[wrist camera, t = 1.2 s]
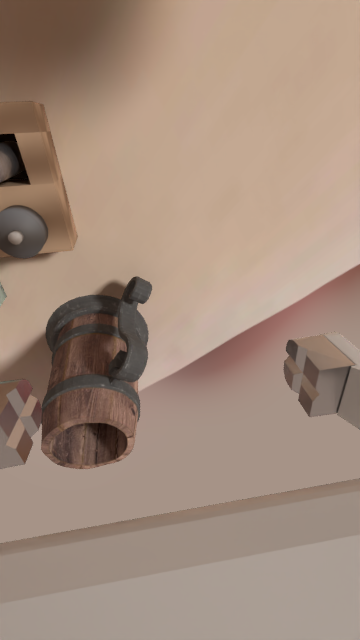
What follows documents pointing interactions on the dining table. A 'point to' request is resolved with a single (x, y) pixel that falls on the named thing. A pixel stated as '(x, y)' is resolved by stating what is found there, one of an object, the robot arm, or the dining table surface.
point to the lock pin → (10, 160)
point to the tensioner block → (33, 188)
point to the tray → (2, 295)
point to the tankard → (95, 378)
